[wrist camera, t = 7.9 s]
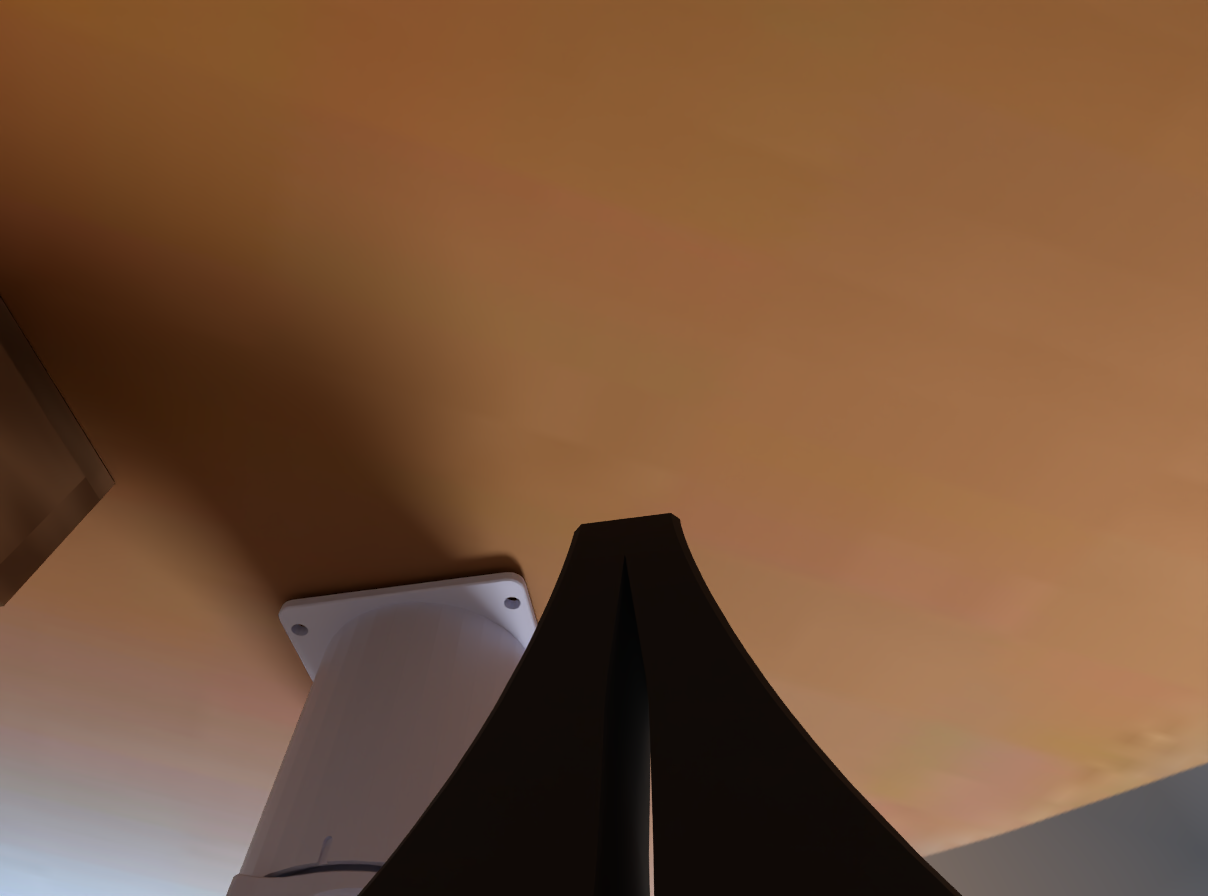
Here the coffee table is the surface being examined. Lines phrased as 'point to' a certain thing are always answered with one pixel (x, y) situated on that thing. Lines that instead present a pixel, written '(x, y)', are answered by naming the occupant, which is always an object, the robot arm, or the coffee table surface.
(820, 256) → the coffee table surface
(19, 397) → the box
